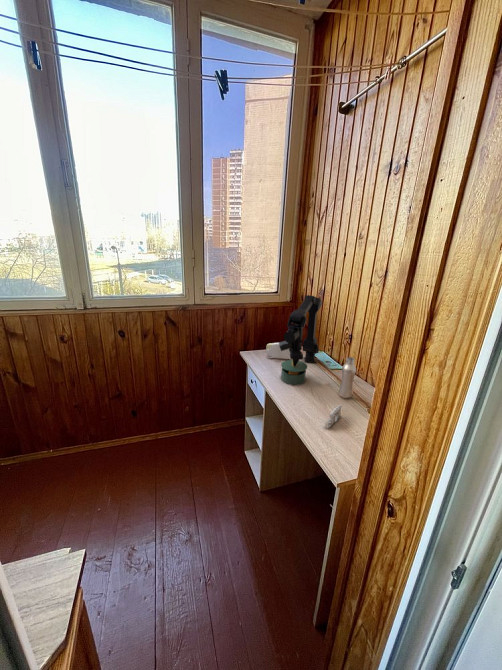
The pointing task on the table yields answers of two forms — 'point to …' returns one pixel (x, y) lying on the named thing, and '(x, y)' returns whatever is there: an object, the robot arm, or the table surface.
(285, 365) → the tin lid
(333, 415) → the grey stone
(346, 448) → the table surface
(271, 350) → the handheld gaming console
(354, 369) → the silver metal bottle
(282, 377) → the tin
